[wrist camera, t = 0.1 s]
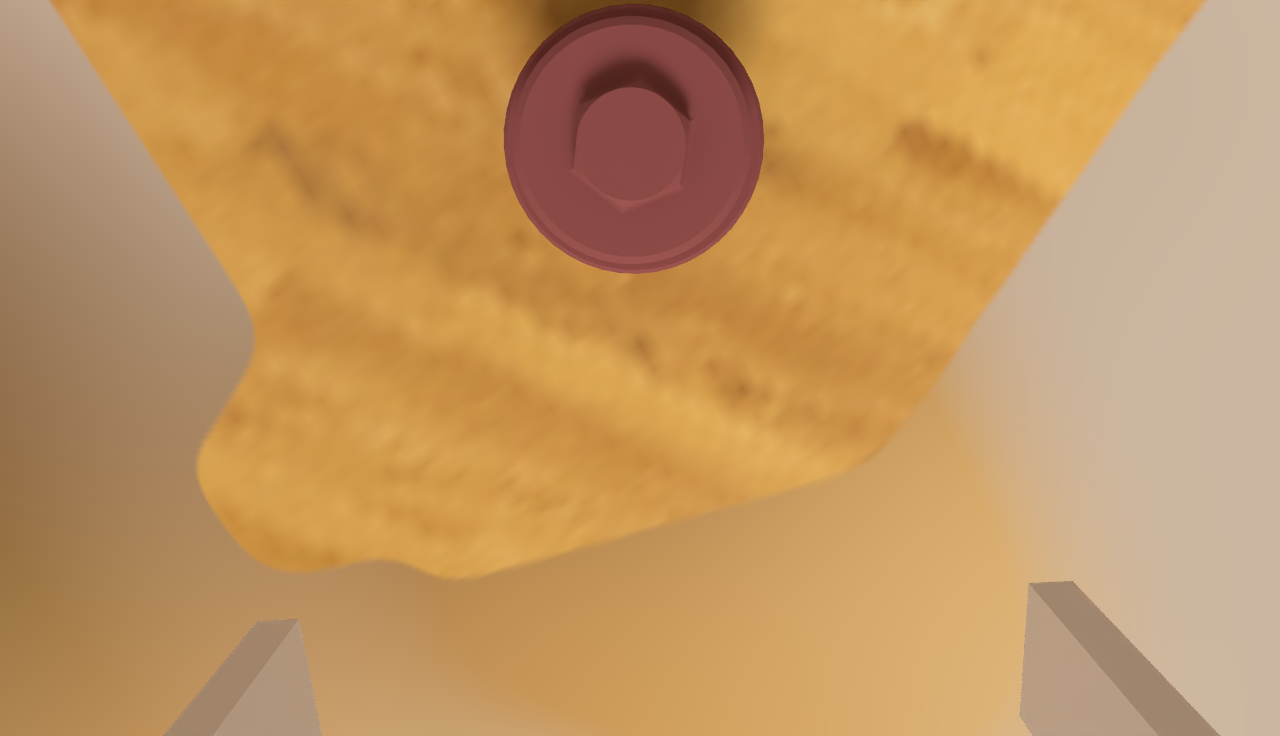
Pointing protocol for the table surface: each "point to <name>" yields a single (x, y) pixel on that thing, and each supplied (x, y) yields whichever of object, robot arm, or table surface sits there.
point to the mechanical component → (633, 138)
